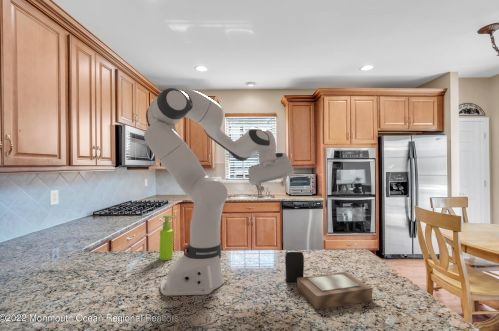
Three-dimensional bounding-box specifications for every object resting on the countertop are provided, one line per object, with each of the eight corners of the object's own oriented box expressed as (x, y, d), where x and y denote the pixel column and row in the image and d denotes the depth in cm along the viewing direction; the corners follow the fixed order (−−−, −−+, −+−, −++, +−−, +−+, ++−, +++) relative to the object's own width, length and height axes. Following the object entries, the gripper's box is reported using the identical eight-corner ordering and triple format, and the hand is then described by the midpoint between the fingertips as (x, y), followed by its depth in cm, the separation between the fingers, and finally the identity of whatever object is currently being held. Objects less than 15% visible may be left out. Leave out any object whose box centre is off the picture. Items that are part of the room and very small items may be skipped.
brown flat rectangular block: (317, 309, 72) (317, 295, 72) (297, 289, 84) (297, 276, 84) (372, 300, 77) (372, 287, 77) (345, 282, 90) (345, 271, 90)
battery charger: (302, 278, 93) (302, 248, 93) (304, 283, 89) (304, 252, 89) (284, 278, 93) (284, 248, 94) (285, 282, 89) (285, 251, 90)
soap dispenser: (170, 261, 110) (171, 217, 111) (156, 259, 112) (157, 216, 112) (176, 256, 116) (177, 215, 117) (163, 255, 117) (164, 214, 118)
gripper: (245, 164, 110) (247, 191, 103) (288, 151, 104) (294, 179, 97) (250, 170, 115) (252, 196, 108) (292, 158, 109) (297, 185, 102)
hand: (272, 188), depth 102 cm, fingers open, 8 cm apart
